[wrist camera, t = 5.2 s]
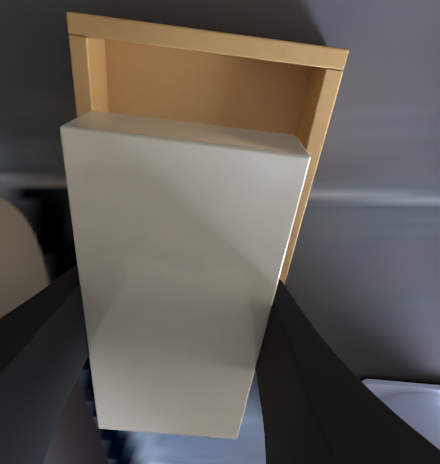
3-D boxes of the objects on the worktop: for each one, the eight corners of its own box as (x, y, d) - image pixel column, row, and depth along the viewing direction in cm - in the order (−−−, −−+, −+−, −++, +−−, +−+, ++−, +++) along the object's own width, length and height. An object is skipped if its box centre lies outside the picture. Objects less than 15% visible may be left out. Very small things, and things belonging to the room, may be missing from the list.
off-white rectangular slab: (235, 366, 15) (237, 440, 12) (121, 357, 15) (97, 429, 12) (287, 122, 10) (312, 156, 7) (107, 100, 9) (57, 125, 7)
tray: (258, 332, 20) (262, 365, 18) (112, 319, 20) (100, 350, 18) (329, 47, 12) (349, 49, 10) (91, 15, 12) (64, 10, 10)
